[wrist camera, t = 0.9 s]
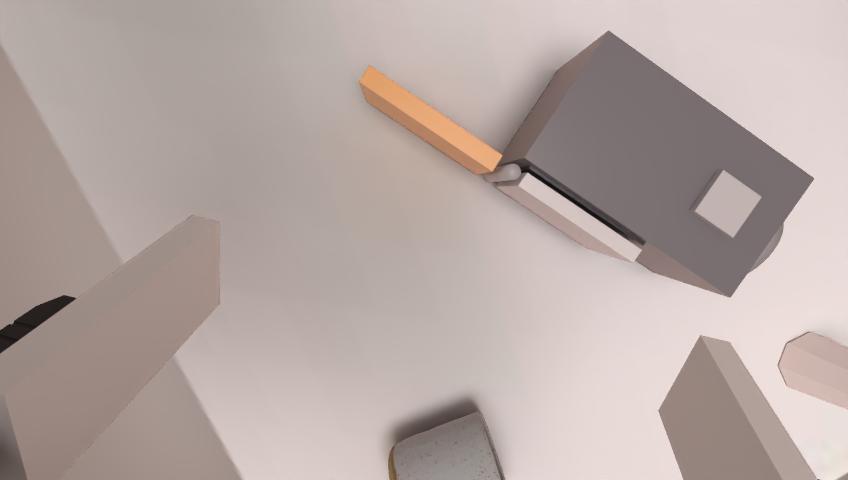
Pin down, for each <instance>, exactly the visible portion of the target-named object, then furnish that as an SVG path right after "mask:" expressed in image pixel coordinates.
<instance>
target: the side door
mask: <svg viewBox="0 0 848 480" xmlns="http://www.w3.org/2000/svg"><path fill="white" fill-rule="evenodd" d="M359 83H360V86H361V88H362V91H363V93H364V95H365V98H366V100H367V102H368V103H370V104H371V105H373V106H374V107H376V108H377V109H379V110H380V111H382V112H383V113H385V114H386V115H388V116H389V117H391V118H392V119H394V120H395V121H397V122H398V123H400V124H401V125H403V126H404V127H406V128H407V129H409V130H410V131H412V132H413V133H415V134H416V135H418V136H419V137H421V138H422V139H424V140H425V141H427V142H428V143H430V144H431V145H433V146H434V147H436V148H437V149H439V150H440V151H442V152H443V153H445V154H446V155H448V156H449V157H451V158H452V159H454V160H455V161H457V162H458V163H460V164H461V165H463V166H464V167H466V168H467V169H469V170H470V171H471V172H473V173H474V174H476V175H479V174H483V173H484V179H485V180H486V181H487V182H498V181H499V182H498V184H497V185H496V187H497V188H498V189H499V190H501V191H502V192H504V193H505V194H507V195H508V196H510V197H511V198H513V199H514V200H516V201H517V202H519V203H520V204H522V205H523V206H525V207H526V208H528V209H529V210H531V211H532V212H534V213H535V214H537V215H538V216H540V217H541V218H543V219H544V220H546V221H547V222H549V223H550V224H552V225H553V226H555V227H556V228H558V229H559V230H561V231H562V232H564V233H565V234H567V235H568V236H570V237H571V238H573V239H574V240H576V241H577V242H579V243H580V244H582V245H583V246H585V247H586V248H588V249H590V250H594V251H597V252H600V253H603V254H606V255H609V256H613V257H616V258H619V259H622V260H625V261H628V262H631V263H633V262H634V261H635V260H636V258H637V257H638V255H639V254H640V252H641V251H642V250H641V249H640V248H638V247H637V246H635V245H634V244H632V243H631V242H629V241H628V240H626V239H625V238H623V237H622V236H621V235H619V234H618V233H616V232H615V231H613V230H612V229H610V228H609V227H607V226H606V225H604V224H603V223H601V222H600V221H598V220H597V219H595V218H594V217H592V216H591V215H589V214H588V213H587V212H585V211H584V210H582V209H581V208H579V207H578V206H576V205H575V204H573V203H572V202H570V201H569V200H567V199H566V198H564V197H563V196H561V195H560V194H558V193H557V192H556V191H554V190H553V189H551V188H550V187H548V186H547V185H545V184H544V183H542V182H541V181H539V180H538V179H536V178H535V177H533V176H532V175H530V174H529V173H527V172H526V173H521V169H520V167H519V166H518V165H516V164H509V165H505V166H501V167H497V168H495V167H496V165H497V164H498V162H499V161H500V159H501V158H502V156H503V155H501V154H500V153H498V152H497V151H495V150H494V149H492V148H491V147H490V146H488V145H487V144H485V143H484V142H482V141H481V140H479V139H478V138H476V137H475V136H473V135H472V134H470V133H469V132H467V131H466V130H464V129H463V128H461V127H460V126H459V125H457V124H456V123H454V122H453V121H451V120H450V119H448V118H447V117H445V116H444V115H442V114H441V113H439V112H438V111H436V110H435V109H433V108H432V107H430V106H429V105H427V104H426V103H425V102H423V101H422V100H420V99H419V98H417V97H416V96H414V95H413V94H411V93H410V92H408V91H407V90H405V89H404V88H402V87H401V86H399V85H398V84H396V83H395V82H394V81H392V80H391V79H389V78H388V77H386V76H385V75H383V74H382V73H380V72H379V71H377V70H376V69H374V68H373V67H371V66H370V65H369V67H368V68H367V70H366V71H365V73H364V75H363V76H362V78H361V79H360V81H359Z"/></svg>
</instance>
